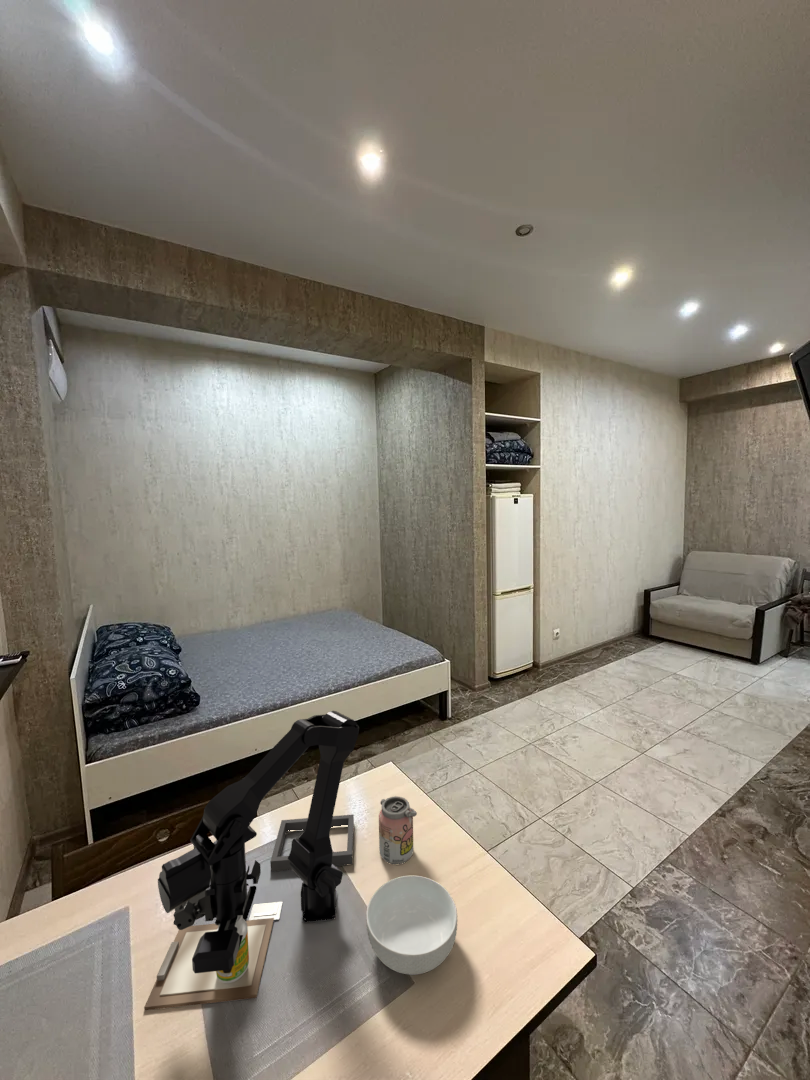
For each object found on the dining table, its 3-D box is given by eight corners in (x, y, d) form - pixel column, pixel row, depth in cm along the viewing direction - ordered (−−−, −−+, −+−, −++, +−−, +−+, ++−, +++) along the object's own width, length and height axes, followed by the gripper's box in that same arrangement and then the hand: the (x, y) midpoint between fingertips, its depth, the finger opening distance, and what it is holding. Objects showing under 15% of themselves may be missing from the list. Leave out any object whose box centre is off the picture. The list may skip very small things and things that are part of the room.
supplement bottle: (237, 987, 74) (235, 933, 73) (209, 981, 75) (206, 928, 74) (255, 956, 79) (252, 905, 78) (228, 950, 80) (225, 900, 80)
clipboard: (273, 920, 87) (273, 913, 87) (256, 997, 73) (256, 988, 73) (180, 929, 86) (179, 922, 86) (144, 1010, 72) (143, 1001, 72)
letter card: (282, 902, 91) (282, 901, 91) (279, 920, 88) (278, 918, 87) (253, 905, 91) (253, 903, 91) (248, 923, 87) (248, 921, 87)
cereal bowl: (465, 919, 87) (465, 886, 86) (445, 1010, 71) (445, 969, 71) (386, 896, 92) (385, 864, 92) (351, 975, 77) (350, 938, 76)
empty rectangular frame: (353, 823, 114) (353, 814, 114) (352, 864, 101) (351, 854, 101) (282, 829, 113) (281, 820, 113) (270, 871, 99) (270, 861, 99)
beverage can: (395, 832, 111) (394, 787, 110) (423, 847, 106) (422, 799, 105) (371, 856, 103) (370, 807, 103) (400, 873, 98) (399, 822, 98)
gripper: (200, 835, 84) (204, 911, 85) (153, 926, 66) (160, 1022, 67) (259, 830, 85) (262, 905, 86) (230, 919, 67) (235, 1013, 68)
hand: (232, 955), depth 77 cm, fingers closed on supplement bottle, 5 cm apart
